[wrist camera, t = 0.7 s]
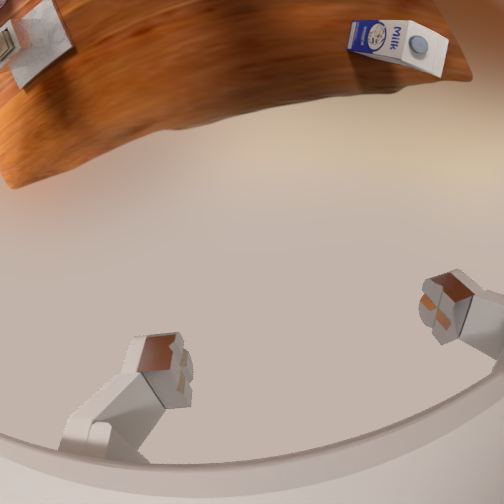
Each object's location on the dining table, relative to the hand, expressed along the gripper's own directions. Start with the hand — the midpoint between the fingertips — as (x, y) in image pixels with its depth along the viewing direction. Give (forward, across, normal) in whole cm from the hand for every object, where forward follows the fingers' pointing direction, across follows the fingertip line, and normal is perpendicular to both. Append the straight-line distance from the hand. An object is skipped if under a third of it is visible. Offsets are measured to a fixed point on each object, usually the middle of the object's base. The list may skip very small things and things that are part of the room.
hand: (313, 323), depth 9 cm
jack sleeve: (+40, +34, -34) cm, 63 cm away
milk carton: (+46, -28, -21) cm, 58 cm away
